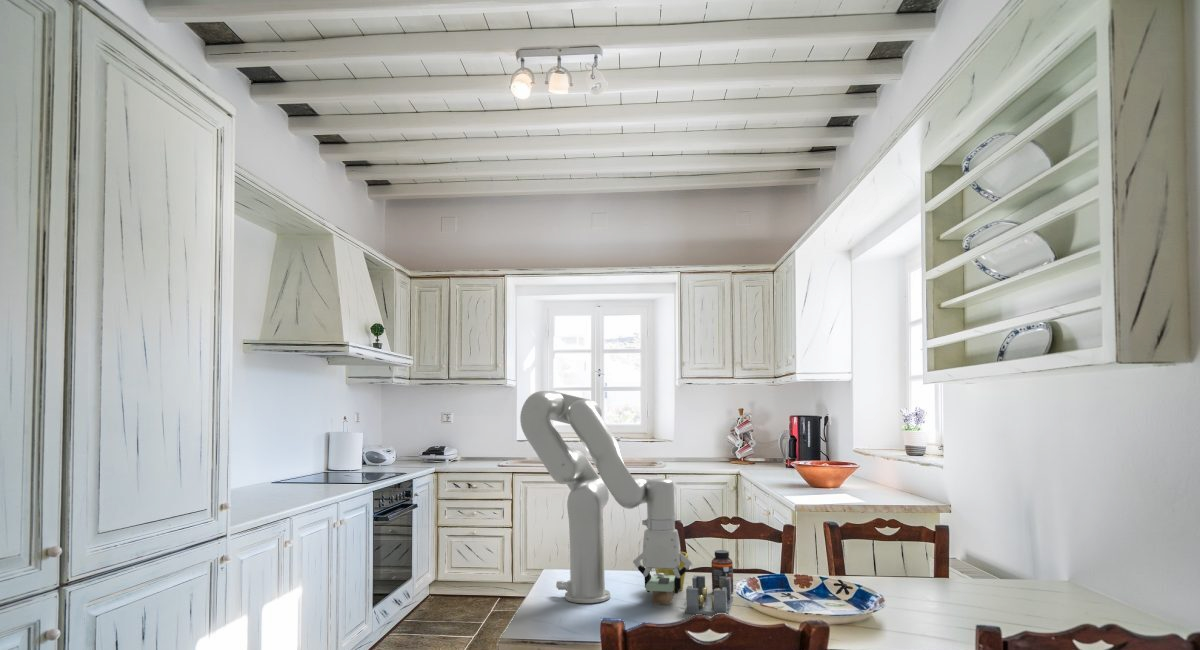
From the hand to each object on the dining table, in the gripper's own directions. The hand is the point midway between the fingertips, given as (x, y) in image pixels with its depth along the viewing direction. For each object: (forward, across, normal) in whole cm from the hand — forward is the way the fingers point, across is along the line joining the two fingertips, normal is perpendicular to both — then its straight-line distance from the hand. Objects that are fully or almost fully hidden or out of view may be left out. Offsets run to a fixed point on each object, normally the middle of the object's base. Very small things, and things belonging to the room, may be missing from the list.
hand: (662, 590), depth 208 cm
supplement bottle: (+3, +15, +12) cm, 19 cm away
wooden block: (+3, 0, 0) cm, 3 cm away
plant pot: (+3, 0, +13) cm, 13 cm away
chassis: (+3, +13, -3) cm, 14 cm away
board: (-1, 0, 0) cm, 1 cm away
